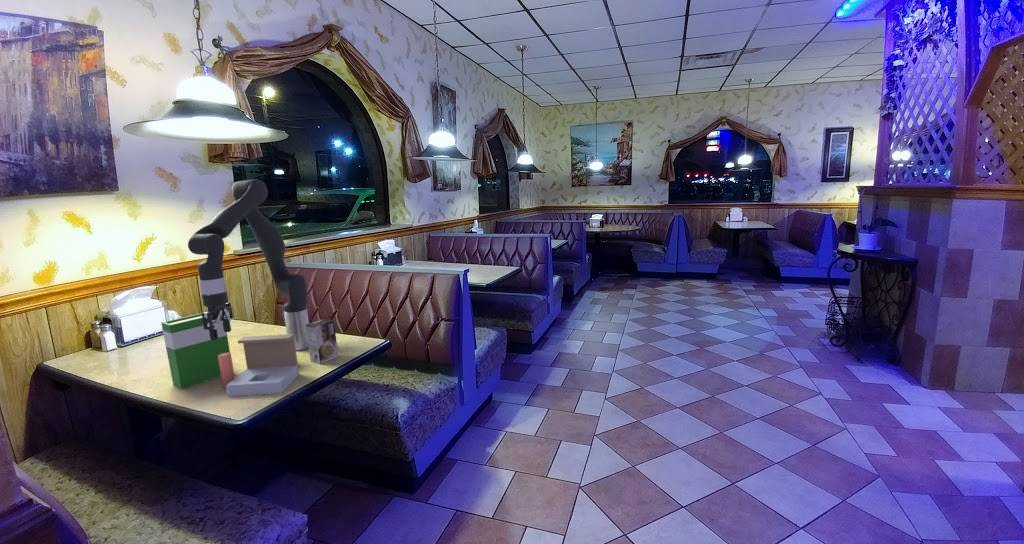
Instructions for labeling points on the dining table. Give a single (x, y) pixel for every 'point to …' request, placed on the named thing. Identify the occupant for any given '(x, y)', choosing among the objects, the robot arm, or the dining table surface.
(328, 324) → the coffee box
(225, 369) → the peg
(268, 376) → the socket
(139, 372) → the dining table surface
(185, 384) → the hardback book
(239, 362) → the dining table surface
